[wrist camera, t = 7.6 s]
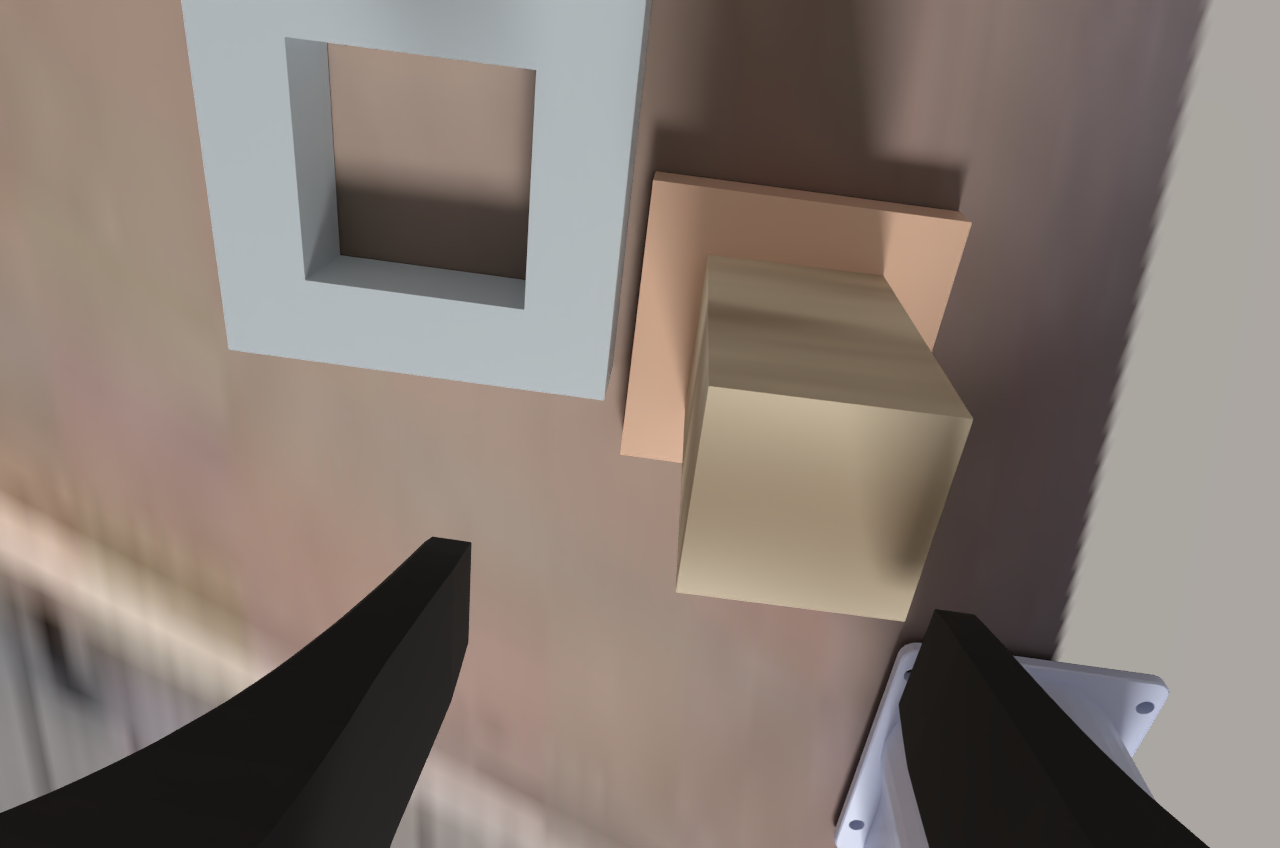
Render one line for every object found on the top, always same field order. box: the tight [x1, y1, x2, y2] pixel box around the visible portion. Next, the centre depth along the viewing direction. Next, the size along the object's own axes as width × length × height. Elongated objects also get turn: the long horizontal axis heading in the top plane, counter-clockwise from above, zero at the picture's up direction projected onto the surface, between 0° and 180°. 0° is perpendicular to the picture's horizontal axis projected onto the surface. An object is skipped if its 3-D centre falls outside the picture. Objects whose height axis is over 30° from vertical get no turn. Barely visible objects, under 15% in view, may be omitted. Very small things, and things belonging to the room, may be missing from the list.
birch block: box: [676, 254, 973, 622], centre depth 16 cm, size 4×4×7 cm
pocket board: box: [181, 0, 652, 400], centre depth 18 cm, size 9×9×2 cm
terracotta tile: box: [620, 171, 972, 463], centre depth 20 cm, size 7×7×1 cm
